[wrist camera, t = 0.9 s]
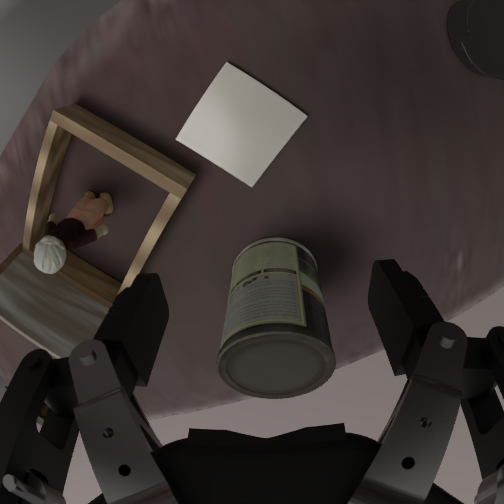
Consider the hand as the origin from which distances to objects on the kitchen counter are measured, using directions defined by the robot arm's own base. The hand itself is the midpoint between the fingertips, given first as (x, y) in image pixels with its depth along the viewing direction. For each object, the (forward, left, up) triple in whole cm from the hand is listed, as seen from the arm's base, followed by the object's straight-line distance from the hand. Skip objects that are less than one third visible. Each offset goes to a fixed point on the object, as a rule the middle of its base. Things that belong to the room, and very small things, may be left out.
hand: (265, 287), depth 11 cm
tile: (-1, -4, -20) cm, 21 cm away
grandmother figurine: (+15, -13, -21) cm, 29 cm away
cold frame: (+16, -13, -20) cm, 29 cm away
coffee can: (+11, +9, -21) cm, 25 cm away
